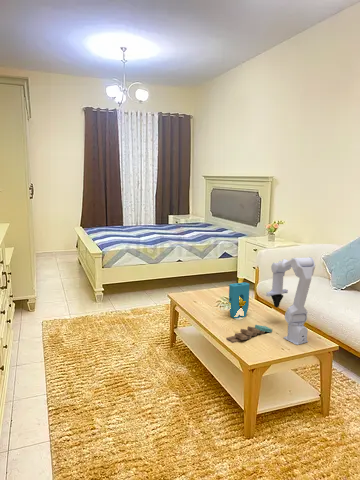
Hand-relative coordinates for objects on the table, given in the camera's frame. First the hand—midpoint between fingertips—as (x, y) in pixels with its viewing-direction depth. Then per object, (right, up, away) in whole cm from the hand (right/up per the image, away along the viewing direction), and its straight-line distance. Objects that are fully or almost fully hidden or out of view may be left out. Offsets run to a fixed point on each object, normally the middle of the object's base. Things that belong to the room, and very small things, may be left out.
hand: (276, 306), depth 208 cm
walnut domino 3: (-16, -12, -13) cm, 23 cm away
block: (-19, -8, +14) cm, 25 cm away
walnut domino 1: (-23, -13, -17) cm, 31 cm away
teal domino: (-6, -11, -7) cm, 15 cm away
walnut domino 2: (-20, -12, -16) cm, 28 cm away
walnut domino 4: (-11, -11, -10) cm, 18 cm away
